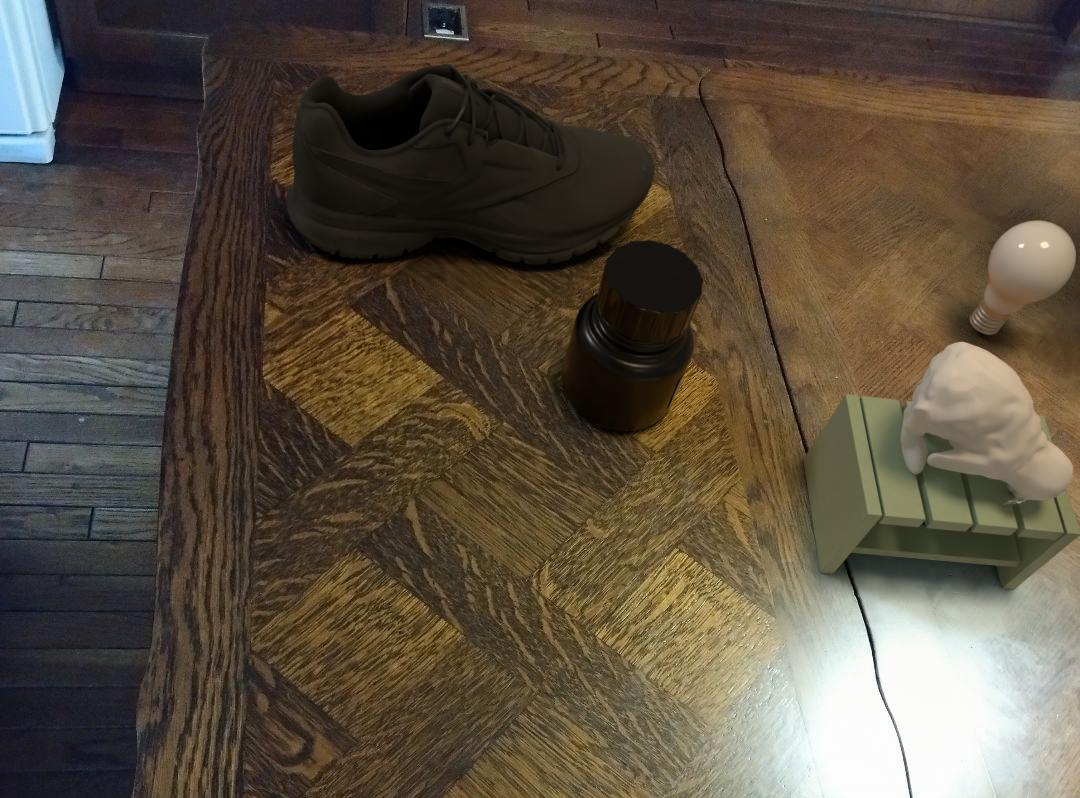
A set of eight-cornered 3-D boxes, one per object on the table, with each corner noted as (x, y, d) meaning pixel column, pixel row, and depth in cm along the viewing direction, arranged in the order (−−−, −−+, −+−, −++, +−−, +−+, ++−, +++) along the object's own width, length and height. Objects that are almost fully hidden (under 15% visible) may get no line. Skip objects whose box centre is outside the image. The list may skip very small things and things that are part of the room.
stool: (984, 477, 78) (1044, 415, 71) (1014, 589, 73) (1081, 534, 66) (802, 459, 76) (845, 393, 69) (820, 573, 71) (868, 514, 64)
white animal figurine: (965, 311, 62) (1133, 409, 61) (892, 390, 69) (1041, 479, 69) (938, 374, 59) (1115, 479, 58) (865, 450, 66) (1021, 544, 66)
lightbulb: (1003, 368, 84) (1082, 273, 75) (935, 331, 85) (1005, 234, 76) (1023, 325, 87) (1102, 229, 78) (958, 290, 88) (1028, 191, 79)
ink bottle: (696, 415, 76) (747, 306, 66) (602, 454, 73) (640, 346, 63) (628, 328, 80) (667, 212, 70) (536, 361, 77) (562, 244, 67)
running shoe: (657, 262, 84) (703, 125, 73) (300, 291, 77) (287, 143, 65) (619, 172, 90) (656, 30, 78) (281, 190, 82) (266, 36, 71)
